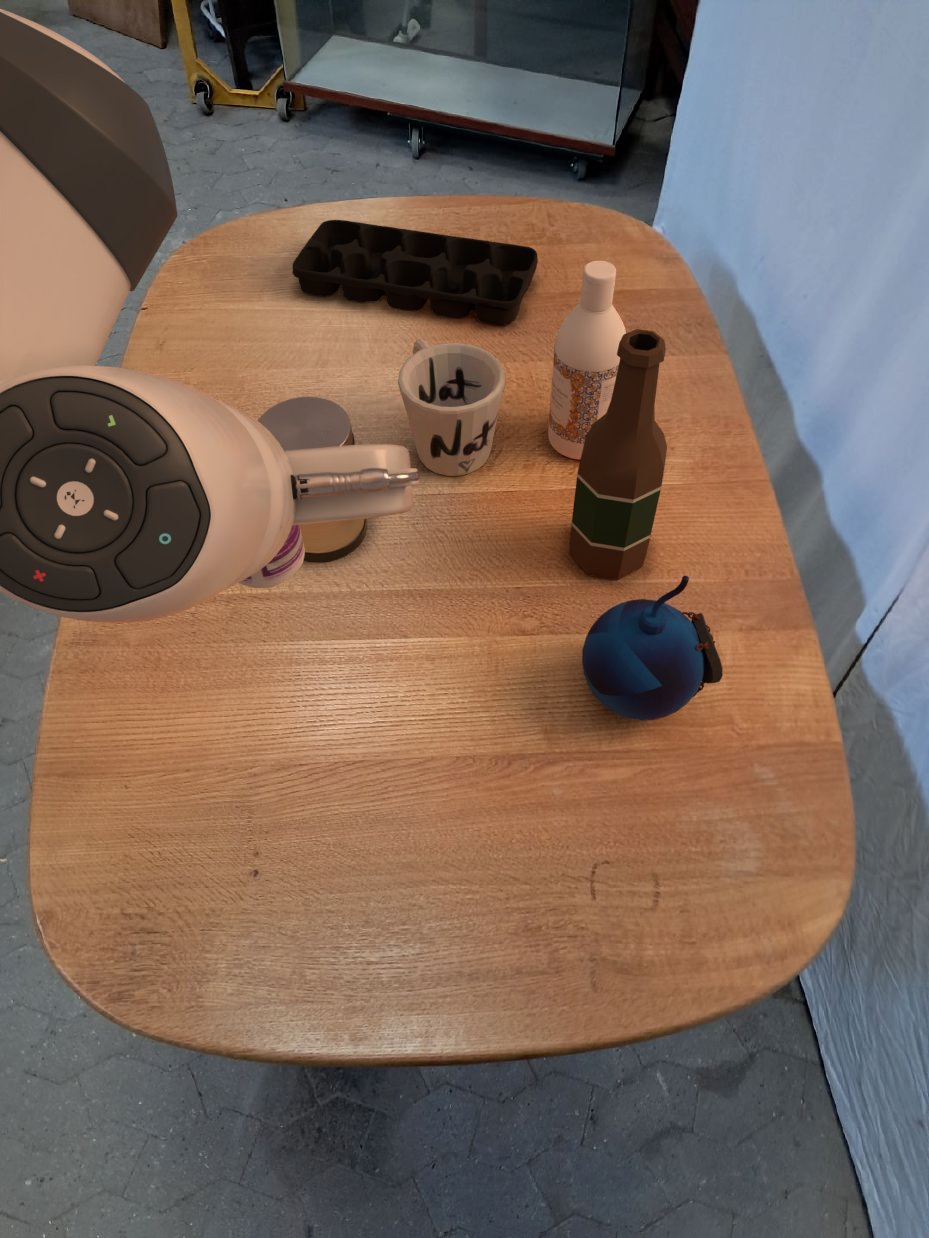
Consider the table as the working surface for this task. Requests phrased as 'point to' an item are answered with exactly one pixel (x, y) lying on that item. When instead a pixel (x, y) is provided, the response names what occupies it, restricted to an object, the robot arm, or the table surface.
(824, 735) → the table surface
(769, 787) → the table surface
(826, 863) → the table surface
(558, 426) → the bath foam
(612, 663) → the bomb
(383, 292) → the egg carton
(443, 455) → the mug
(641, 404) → the beer bottle
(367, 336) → the table surface
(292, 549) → the pill bottle
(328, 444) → the copper canister
